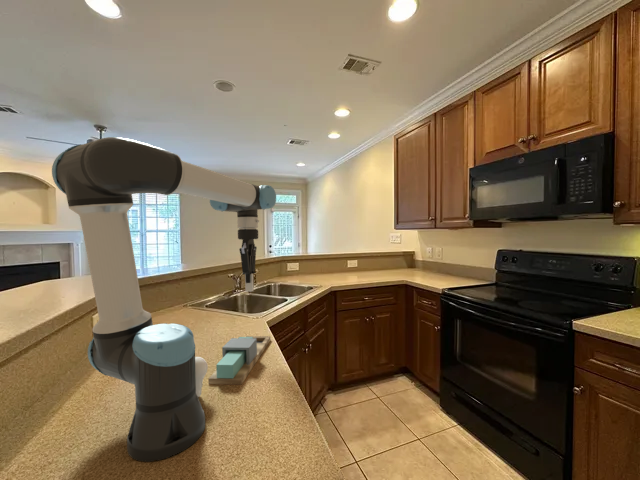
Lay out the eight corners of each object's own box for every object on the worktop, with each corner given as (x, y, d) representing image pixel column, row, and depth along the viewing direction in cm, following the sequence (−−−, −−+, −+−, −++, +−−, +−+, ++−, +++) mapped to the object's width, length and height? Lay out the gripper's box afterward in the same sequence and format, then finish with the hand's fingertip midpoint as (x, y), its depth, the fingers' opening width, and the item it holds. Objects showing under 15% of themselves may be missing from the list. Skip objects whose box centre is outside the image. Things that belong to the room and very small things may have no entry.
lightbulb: (212, 397, 77) (211, 357, 77) (189, 407, 72) (188, 365, 72) (202, 388, 81) (201, 351, 81) (180, 398, 77) (178, 358, 76)
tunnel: (249, 364, 92) (249, 347, 92) (222, 364, 93) (222, 347, 92) (256, 354, 100) (256, 338, 100) (232, 353, 101) (231, 338, 100)
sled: (233, 378, 83) (232, 361, 83) (216, 378, 84) (216, 360, 83) (253, 351, 102) (252, 337, 102) (239, 351, 103) (239, 336, 102)
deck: (241, 384, 83) (241, 379, 83) (208, 383, 84) (208, 378, 84) (270, 340, 117) (270, 336, 117) (246, 340, 118) (246, 336, 118)
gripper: (252, 228, 100) (253, 294, 101) (262, 228, 113) (263, 287, 114) (231, 228, 101) (233, 294, 101) (244, 229, 114) (245, 287, 114)
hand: (249, 291), depth 107 cm, fingers closed
